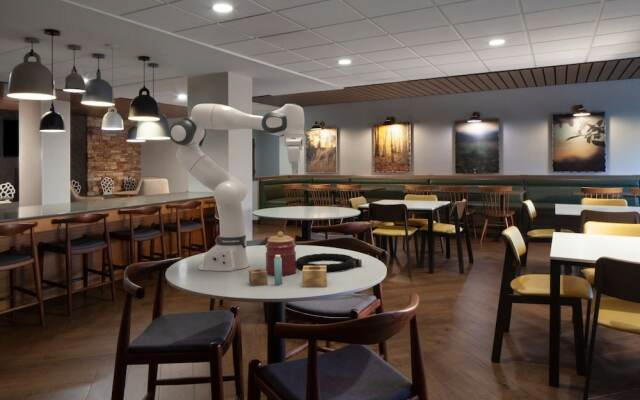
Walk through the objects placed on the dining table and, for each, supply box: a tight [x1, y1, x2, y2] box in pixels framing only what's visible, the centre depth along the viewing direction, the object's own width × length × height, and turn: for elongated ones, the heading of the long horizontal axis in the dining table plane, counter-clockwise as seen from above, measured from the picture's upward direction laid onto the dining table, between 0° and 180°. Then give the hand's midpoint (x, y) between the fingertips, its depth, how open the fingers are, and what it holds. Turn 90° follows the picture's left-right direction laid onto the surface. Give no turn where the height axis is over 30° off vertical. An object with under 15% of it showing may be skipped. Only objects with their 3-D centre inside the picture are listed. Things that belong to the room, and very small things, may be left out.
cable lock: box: [296, 253, 362, 273], centre depth 207 cm, size 28×4×30 cm
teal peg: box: [274, 255, 283, 286], centre depth 177 cm, size 3×3×11 cm
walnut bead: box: [248, 268, 268, 287], centre depth 178 cm, size 6×6×5 cm
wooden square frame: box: [301, 265, 328, 288], centre depth 177 cm, size 9×9×6 cm
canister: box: [264, 230, 297, 276], centre depth 195 cm, size 13×13×18 cm
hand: (295, 174), depth 198 cm, fingers open, 8 cm apart
